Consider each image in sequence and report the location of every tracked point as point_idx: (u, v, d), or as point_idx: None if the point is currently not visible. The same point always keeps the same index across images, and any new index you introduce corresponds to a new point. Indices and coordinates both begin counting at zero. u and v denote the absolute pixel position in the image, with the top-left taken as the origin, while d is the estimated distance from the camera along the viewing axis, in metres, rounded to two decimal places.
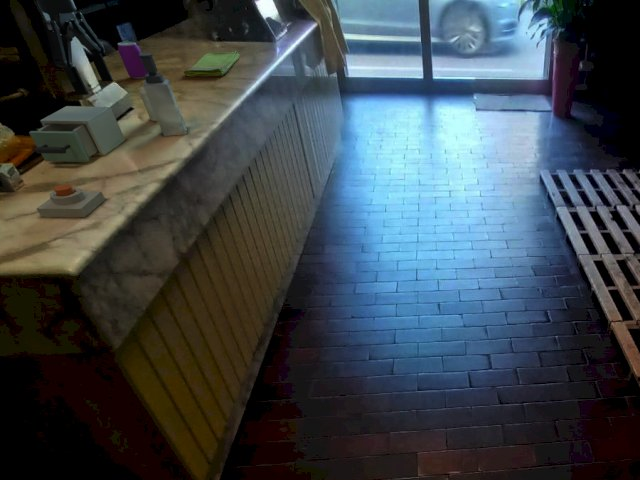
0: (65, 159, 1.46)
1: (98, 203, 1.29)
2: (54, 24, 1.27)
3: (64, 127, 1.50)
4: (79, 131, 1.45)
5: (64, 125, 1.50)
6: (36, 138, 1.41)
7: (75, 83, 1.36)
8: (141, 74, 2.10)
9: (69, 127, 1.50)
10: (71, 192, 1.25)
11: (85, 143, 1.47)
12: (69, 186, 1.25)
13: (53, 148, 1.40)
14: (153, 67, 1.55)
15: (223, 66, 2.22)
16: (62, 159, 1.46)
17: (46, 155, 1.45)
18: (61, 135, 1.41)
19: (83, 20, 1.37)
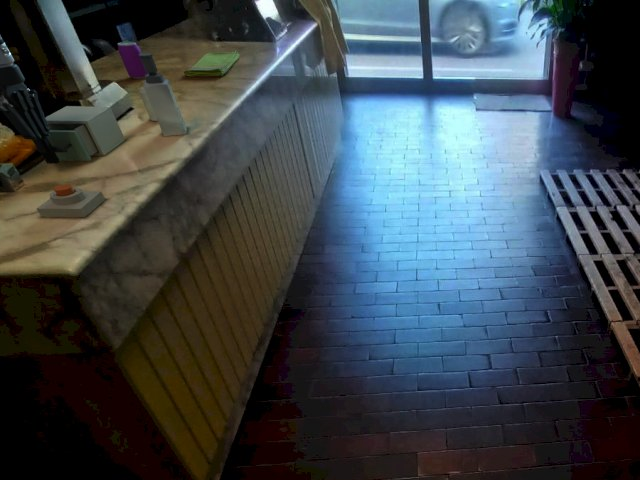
0: (67, 158, 1.46)
1: (98, 203, 1.29)
2: (8, 107, 1.26)
3: (66, 126, 1.51)
4: (81, 130, 1.45)
5: (66, 124, 1.51)
6: None
7: (45, 153, 1.39)
8: (141, 74, 2.10)
9: (70, 126, 1.51)
10: (71, 192, 1.25)
11: (87, 142, 1.47)
12: (69, 186, 1.25)
13: (55, 147, 1.40)
14: (153, 67, 1.55)
15: (223, 66, 2.22)
16: (64, 158, 1.46)
17: None
18: (63, 134, 1.42)
19: (35, 97, 1.34)
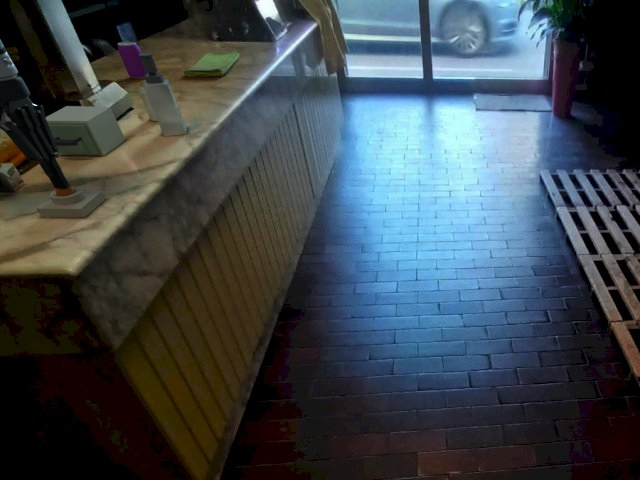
0: (76, 151, 1.50)
1: (98, 203, 1.29)
2: (11, 126, 1.09)
3: None
4: None
5: None
6: None
7: (53, 177, 1.22)
8: (141, 74, 2.10)
9: None
10: (72, 193, 1.25)
11: None
12: (70, 187, 1.25)
13: (65, 140, 1.44)
14: (153, 67, 1.55)
15: (223, 66, 2.22)
16: (73, 151, 1.50)
17: (58, 147, 1.49)
18: (73, 128, 1.46)
19: (42, 113, 1.17)
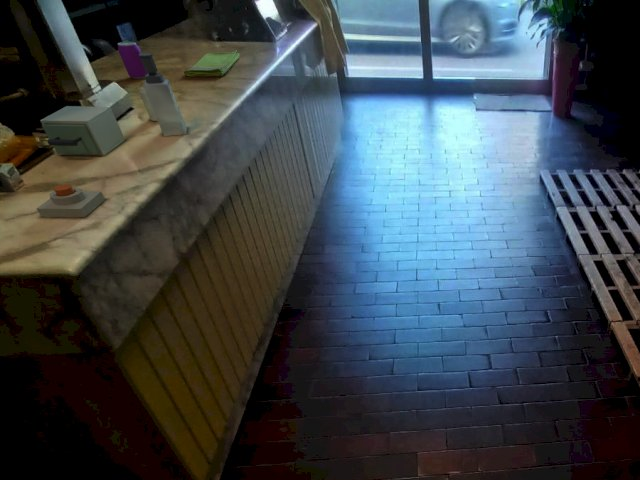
0: (76, 151, 1.50)
1: (98, 203, 1.29)
2: None
3: None
4: None
5: None
6: (49, 131, 1.46)
7: None
8: (141, 74, 2.10)
9: None
10: (71, 192, 1.25)
11: None
12: (69, 186, 1.25)
13: (65, 140, 1.44)
14: (153, 67, 1.55)
15: (223, 66, 2.22)
16: (73, 151, 1.50)
17: (58, 147, 1.49)
18: (73, 128, 1.46)
19: None
